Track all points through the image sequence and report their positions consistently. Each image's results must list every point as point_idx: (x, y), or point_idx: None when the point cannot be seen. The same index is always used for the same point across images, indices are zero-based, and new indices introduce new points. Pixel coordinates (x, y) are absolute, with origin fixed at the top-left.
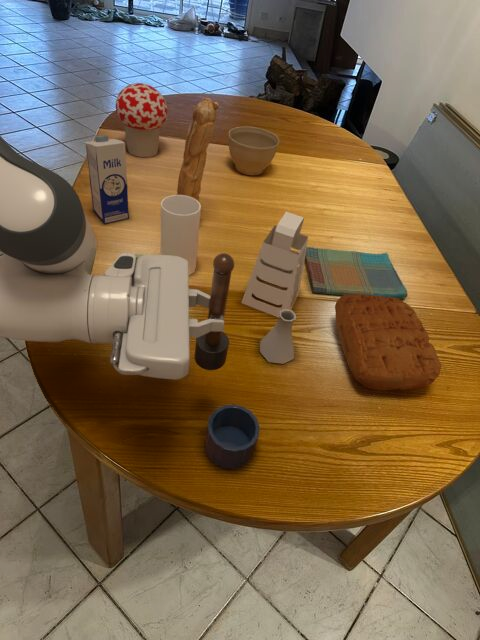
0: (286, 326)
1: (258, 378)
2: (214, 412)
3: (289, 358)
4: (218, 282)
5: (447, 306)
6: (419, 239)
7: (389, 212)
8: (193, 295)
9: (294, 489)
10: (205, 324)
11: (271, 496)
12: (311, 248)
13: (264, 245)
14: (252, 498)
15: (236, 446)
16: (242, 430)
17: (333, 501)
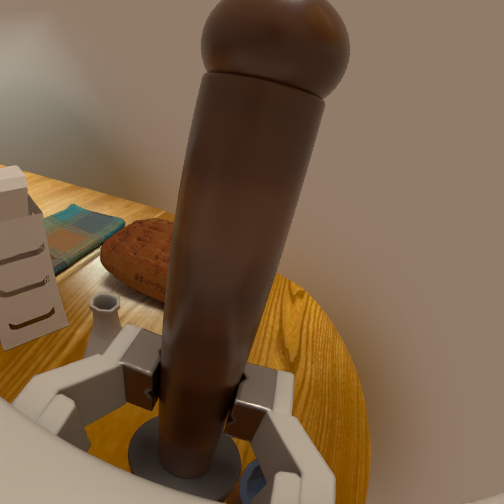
0: (115, 319)
1: (149, 418)
2: None
3: None
4: (304, 171)
5: (151, 216)
6: (76, 188)
7: (36, 184)
8: (65, 416)
9: (338, 442)
10: (312, 442)
11: (346, 469)
12: None
13: None
14: (348, 491)
15: None
16: (248, 481)
17: (351, 408)
